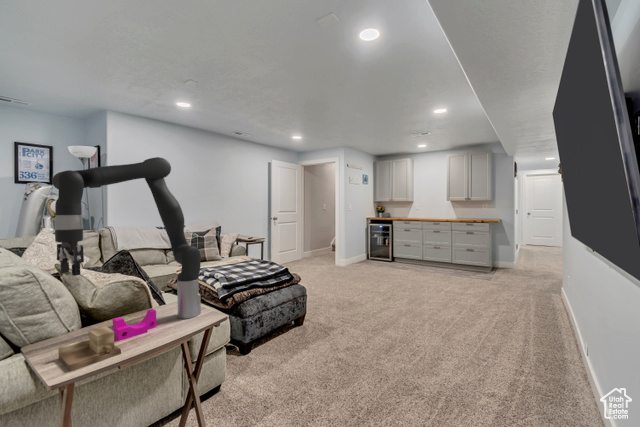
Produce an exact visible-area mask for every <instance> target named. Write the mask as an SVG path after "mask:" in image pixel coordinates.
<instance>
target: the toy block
mask: <svg viewBox="0 0 640 427" xmlns="http://www.w3.org/2000/svg"><path fill="white" fill-rule="evenodd" d="M154 328H157V310H156V309H154V308H150V309H147V310H146V314H145V316H144V317H143V318H142V319H141V320H140V321H139V322H138V323H137V322H136V323H134V324H127V323H126V322H125V319H124V318H123V317H121V316H119V317H115V318H112V330H113V331H114V340H116V341H117V342H121V341H125V340H128V339H131V338H134V337H138V336H140V335H143V334H146V333H148V331H149V330H151V329H154Z"/></svg>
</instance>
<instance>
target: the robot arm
mask: <svg viewBox="0 0 640 427" xmlns="http://www.w3.org/2000/svg"><path fill="white" fill-rule="evenodd" d="M171 172H172V167H171V163H170V162H169V161H168V160H167V159H165V158H164V157H151V158H146V159H144V160H143V161H142V162H135V163H128V164H116V165H106V166H105V165H103V166H95V167H90V168H86V169H81V170H70V169H69V170H63V171H59V172H57V173H56V174H55V175H54V176H53V177H52V179H51V183H52V185H53V187H54V188H55V189H56V190H58V197H57V199H56V200H55V204H54V205H55V208H54V209H55V213H54V214H55V217H54V238H55V239H54V241H55V242H56V243H57V244H56V260H57V261H58V262H59V263H60V264H59V265H60V273H61V274H66V273H69V272H70V263H71V276H74V277H75V276H79V275H81V264H82V263H84V262H85V259H84V256H85V255H84V245H82V244H80V245H79V242H83V240H84V221H83V220H84V219H83V215H82V213H83V212H82V199H83V194H84V190H85V189H86V188H87V189H88V188H91V187H94V188H96V187H104V186H110V185H116V184H119V183H124V182H128V181H133V180H134V181H135V180H139V179H144V180H145V182H146V184H147V185H148V188H149V189H150V193H151V195H152V197H153V200H154V202H155V205H156V208H157V211H158V214H159V217H160V219H161V222H162V225H163V227H164V230H165V232H166V234H167V237H168V239H169V240H168V241H169V243H170V247H171V250H172V254H173V259H174V260H175V262H176V263H178V264H179V265H181V271H180V272H179V273H178V274H177V278H176V279H177V280H176V281H177V318H178V319H183V320H184V319H192V318H196V317H197V316H199V315H201V313H202V310H201V309H202V306H201V303H202V301H201V300H202V299H201V296H202V295H201V293H199V292H200V290H199V289H200V288H199V286H200V285H199V281H200V280H199V277H200V276H199V275H200V273H201V263H202V262H201V256H202V255H201V252H200V250H199V248H198V247H196V246H194V245H189V243H188V241H187V238H186V236H185V217H184V212H183V209H182V207H181V205H180V203H179V201H178V200H177V198H176V197H175V195H173V193H172V192H171V191H170V190H169V188H168V186H167V183H166V180H165V178H166V177H168V176H169V175H170V174H171Z"/></svg>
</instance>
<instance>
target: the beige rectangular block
mask: <svg viewBox="0 0 640 427" xmlns="http://www.w3.org/2000/svg"><path fill="white" fill-rule="evenodd" d="M88 339H89V348H91V349H92V350H93V351H95V352H96V353H97V354H98V353H101V352H104V351H106V352H108V353H109V352H110V351H112V349H113V348H114V345H115V338H114V331H113V329H111V328H109V327H108V326H106V325H105V326H102V327H101V326H100V327H99V328H95V329H91V330H89V331H88Z"/></svg>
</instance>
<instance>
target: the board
mask: <svg viewBox="0 0 640 427" xmlns="http://www.w3.org/2000/svg"><path fill="white" fill-rule="evenodd" d="M121 354H122V349H121V348H120V347H118V346H116V344H114V348H113V349H112V351H110V352H109V353H108V352H106V351H104V352H101V353H98V354H97V353H96V352H95V351H93V350H92V349H91V348H89V338H87V339H84V340H80V341H77V342H76V341H75V342H73V343H69V344H65V345H63V346H59V347H58V360H59V361H60V362H61V364H63V365H64V366H65V367H66V368H67V369H68V370H69V371H70V372H73V371H75V370H76V371H77V370H79V369H81V368H84V367H87V366H89V365H93V364H95V363H98V362H101V361H103V360H107V359H110V358H112V357H115V356H118V355H121Z"/></svg>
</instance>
